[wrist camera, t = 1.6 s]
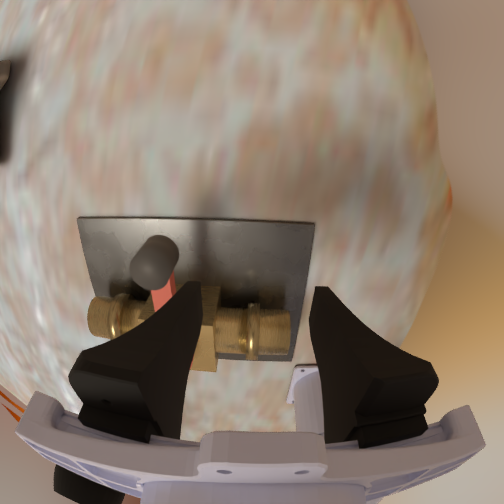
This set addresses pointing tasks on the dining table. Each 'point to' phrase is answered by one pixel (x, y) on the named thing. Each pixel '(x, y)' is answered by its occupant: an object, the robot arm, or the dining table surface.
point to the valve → (206, 281)
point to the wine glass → (84, 488)
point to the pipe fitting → (4, 72)
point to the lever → (156, 268)
